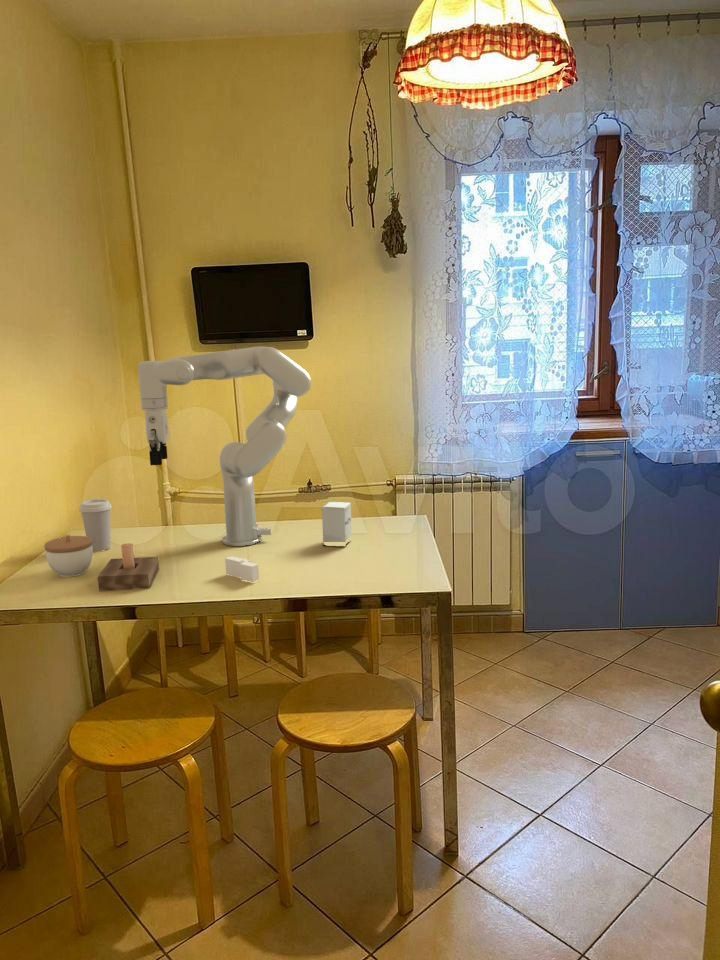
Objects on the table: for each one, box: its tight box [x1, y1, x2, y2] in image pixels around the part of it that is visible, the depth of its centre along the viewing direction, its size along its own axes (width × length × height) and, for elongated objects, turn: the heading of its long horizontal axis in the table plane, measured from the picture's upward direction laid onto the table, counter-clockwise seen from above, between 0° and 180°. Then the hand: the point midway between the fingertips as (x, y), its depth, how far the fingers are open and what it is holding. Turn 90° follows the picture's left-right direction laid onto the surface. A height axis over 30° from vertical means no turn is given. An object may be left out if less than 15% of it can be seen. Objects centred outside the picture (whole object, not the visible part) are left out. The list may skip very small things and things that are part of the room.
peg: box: [120, 543, 135, 569], centre depth 204 cm, size 3×3×10 cm
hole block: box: [97, 556, 160, 592], centre depth 204 cm, size 13×15×4 cm
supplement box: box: [321, 501, 353, 543], centre depth 232 cm, size 7×7×13 cm
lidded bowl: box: [44, 534, 94, 578], centre depth 211 cm, size 13×13×11 cm
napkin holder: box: [224, 555, 260, 582], centre depth 203 cm, size 15×11×6 cm
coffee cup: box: [78, 498, 113, 552], centre depth 233 cm, size 10×10×15 cm
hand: (159, 461), depth 222 cm, fingers open, 9 cm apart
